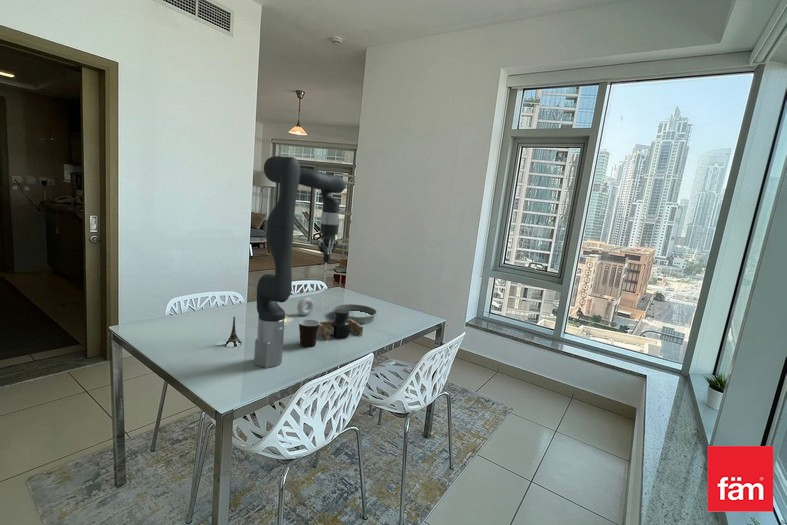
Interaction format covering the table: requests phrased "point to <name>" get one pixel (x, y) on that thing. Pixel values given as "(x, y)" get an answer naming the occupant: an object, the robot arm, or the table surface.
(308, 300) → the donut
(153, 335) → the table surface
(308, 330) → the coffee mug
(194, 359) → the table surface
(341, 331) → the ink bottle
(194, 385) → the table surface
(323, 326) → the corral
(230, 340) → the eiffel tower figurine
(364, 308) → the cake pan
